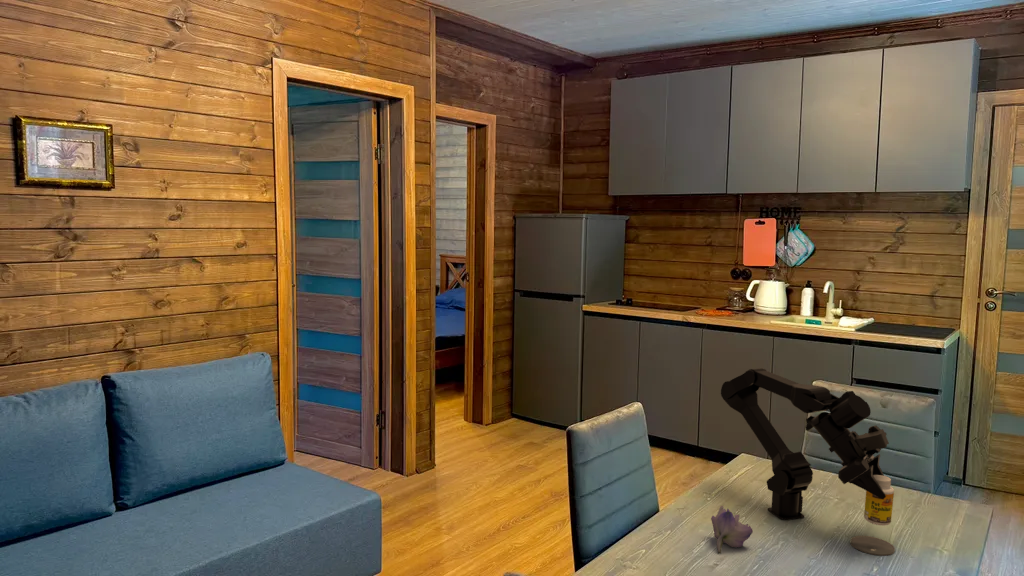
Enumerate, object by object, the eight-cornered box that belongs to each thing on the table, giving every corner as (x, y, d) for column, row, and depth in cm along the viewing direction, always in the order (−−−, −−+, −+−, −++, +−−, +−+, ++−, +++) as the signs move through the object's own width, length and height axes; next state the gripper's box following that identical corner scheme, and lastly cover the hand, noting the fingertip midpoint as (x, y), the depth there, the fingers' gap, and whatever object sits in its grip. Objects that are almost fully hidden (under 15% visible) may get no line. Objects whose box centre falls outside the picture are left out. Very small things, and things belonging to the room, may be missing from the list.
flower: (738, 533, 155) (740, 498, 163) (700, 540, 160) (704, 505, 168) (756, 562, 158) (757, 526, 166) (719, 568, 163) (722, 533, 171)
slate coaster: (869, 557, 160) (869, 555, 160) (841, 539, 168) (841, 537, 168) (904, 553, 162) (904, 551, 162) (874, 536, 171) (874, 534, 171)
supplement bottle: (866, 524, 164) (870, 480, 163) (861, 514, 169) (865, 472, 168) (893, 528, 162) (897, 483, 161) (887, 518, 168) (891, 474, 167)
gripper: (858, 426, 158) (911, 487, 153) (873, 408, 173) (922, 463, 168) (817, 453, 163) (867, 514, 158) (835, 434, 178) (882, 488, 173)
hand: (886, 493), depth 164 cm, fingers closed on supplement bottle, 6 cm apart
